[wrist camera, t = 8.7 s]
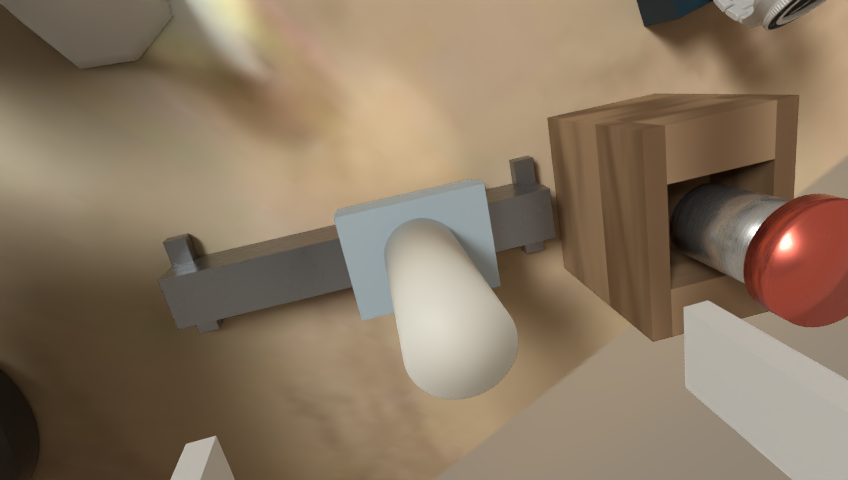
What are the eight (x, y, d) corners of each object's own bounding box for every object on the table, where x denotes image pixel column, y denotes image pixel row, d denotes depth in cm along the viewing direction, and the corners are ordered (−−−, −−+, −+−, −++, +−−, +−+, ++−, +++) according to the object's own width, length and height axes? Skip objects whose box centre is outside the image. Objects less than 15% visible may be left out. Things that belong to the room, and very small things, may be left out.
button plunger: (661, 276, 23) (768, 340, 17) (657, 183, 21) (773, 219, 15) (750, 254, 23) (885, 309, 17) (752, 161, 22) (900, 187, 16)
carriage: (361, 297, 29) (366, 449, 17) (335, 204, 27) (321, 298, 15) (486, 266, 30) (581, 391, 17) (470, 173, 28) (564, 239, 16)
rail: (203, 327, 30) (187, 352, 27) (167, 238, 28) (147, 255, 25) (539, 245, 31) (558, 261, 28) (528, 155, 29) (546, 162, 27)
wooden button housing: (564, 267, 32) (653, 341, 23) (547, 117, 29) (642, 130, 19) (661, 243, 33) (788, 306, 23) (655, 93, 29) (798, 95, 20)
